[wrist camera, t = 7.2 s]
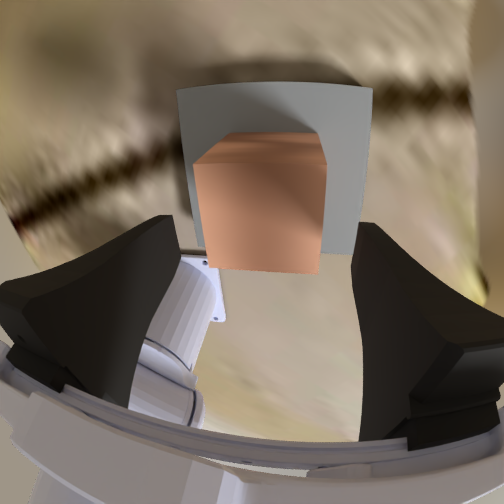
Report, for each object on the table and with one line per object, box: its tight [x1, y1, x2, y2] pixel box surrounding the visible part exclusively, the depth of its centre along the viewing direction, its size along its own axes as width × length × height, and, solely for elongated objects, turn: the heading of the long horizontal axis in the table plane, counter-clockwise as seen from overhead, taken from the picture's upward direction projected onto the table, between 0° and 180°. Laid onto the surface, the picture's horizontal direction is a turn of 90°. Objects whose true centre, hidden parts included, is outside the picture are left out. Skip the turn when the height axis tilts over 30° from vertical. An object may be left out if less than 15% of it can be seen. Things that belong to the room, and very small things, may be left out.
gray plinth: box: [176, 81, 373, 255], centre depth 17 cm, size 11×11×2 cm
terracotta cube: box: [193, 132, 327, 274], centre depth 14 cm, size 5×5×6 cm
